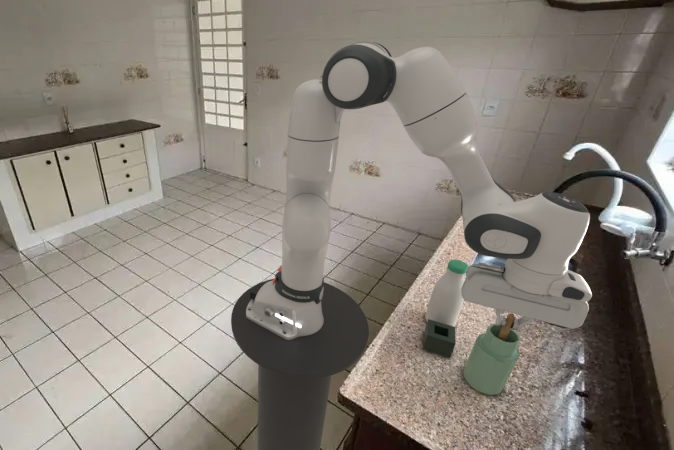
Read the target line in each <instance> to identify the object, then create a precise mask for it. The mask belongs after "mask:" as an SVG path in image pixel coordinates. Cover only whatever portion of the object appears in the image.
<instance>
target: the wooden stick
mask: <svg viewBox="0 0 674 450" xmlns="http://www.w3.org/2000/svg"><path fill="white" fill-rule="evenodd" d="M515 319H517V317H516V314H513V313H508V314H507V315H506V320H507V323H506V324H505V327H502V328H501V331H500V333H499V335H498V337H497V338H498V339H500V340H502V341H505V339H506V337H507V335H508V333H509V331H510V329H511V327H512V325H513V322H514V320H515Z"/></svg>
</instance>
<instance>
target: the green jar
mask: <svg viewBox="0 0 674 450" xmlns="http://www.w3.org/2000/svg"><path fill="white" fill-rule="evenodd" d="M501 328H502V326H498V325H496V323H492V324H490V325H488V327H487V329H486V331H485V332H484V333H481V334H479V335H478V336H477V337H476V340H475V342H474V344H473V347H472V349H471V351H470V354H469V356H468V358H467V361H466V363H465V366H464V368H463V378H464V380H465V381H466V382H467V384H468V385H470V387H471V388H473V389H475V390H476V391H477V392H480V393H482V394H485V395H489V396H495V395H499V394H501V392H502V391H503V389H504V388H505V386H506V385H507V382H508V380H509V378H510V377H511V374H512V372H513V370H514V368H515V366H516V365H517V363H518V361H519V359H520V357H521V354H520V350H519V348H518V347H519V345H520V343H521V337H520V335H519V333H518V332H517V331H516V330H513V329H510V331H509V333H508V335H507V337H506V339H505V341H502V340H500V339H498V338H497V337H498V335H499V333H500V331H501Z"/></svg>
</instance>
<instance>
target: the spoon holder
mask: <svg viewBox="0 0 674 450" xmlns="http://www.w3.org/2000/svg"><path fill="white" fill-rule="evenodd" d="M422 340H423V342H422V350H424V351H427V352H430V353H434V354H436V355H441V356H443V357H446V358H451V357H452V355H453V351H454V349H455V347H456V326H455V327H454V326H450V325H447V324H443V323H440V322H436V321H433V320H429V319H428V322H427V321H426V324H425V328H424V331H423V339H422Z"/></svg>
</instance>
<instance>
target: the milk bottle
mask: <svg viewBox="0 0 674 450" xmlns="http://www.w3.org/2000/svg"><path fill="white" fill-rule="evenodd" d="M468 267H469V265H468V264H467V263H466V262H465V261H463V260H459V259H451V260H449V261H448V263H447V266H446V271H445V273H444V274H443V275H442V276H440V278H438V279H437V281H436V282H435V284H434V287H433V290H432V292H431V295H430V298H429V301H428V305H427V309H426V312H425V315H424V318H425V321H426V323H427V322H428V319H429V320H433V321H436V322H440V323H443V324H447V325H450V326H454V327H455V328H456V324H457V322H458V319H459V316H460V314H461V310H462V308H463V305H464V302H465V300H464V299H463V298H462V296H461V288H462V285H463V283H464V281H465V279H466V278H465V277H466V272H467V269H468Z"/></svg>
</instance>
